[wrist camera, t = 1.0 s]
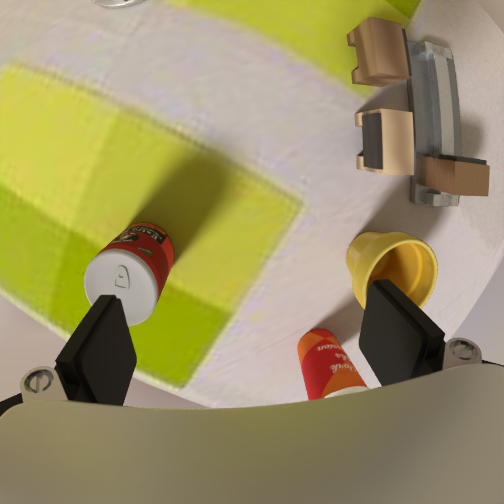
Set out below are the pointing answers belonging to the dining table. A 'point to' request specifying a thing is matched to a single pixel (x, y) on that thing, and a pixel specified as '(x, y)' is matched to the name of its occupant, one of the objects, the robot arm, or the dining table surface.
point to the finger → (380, 53)
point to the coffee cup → (327, 366)
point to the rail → (426, 117)
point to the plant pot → (392, 264)
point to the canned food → (132, 270)
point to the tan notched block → (386, 141)
